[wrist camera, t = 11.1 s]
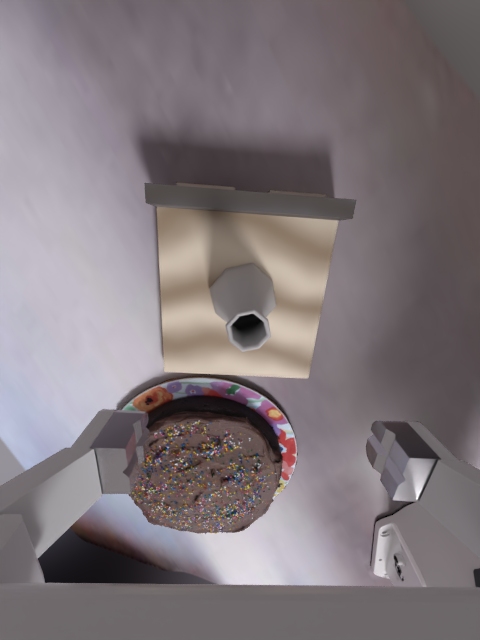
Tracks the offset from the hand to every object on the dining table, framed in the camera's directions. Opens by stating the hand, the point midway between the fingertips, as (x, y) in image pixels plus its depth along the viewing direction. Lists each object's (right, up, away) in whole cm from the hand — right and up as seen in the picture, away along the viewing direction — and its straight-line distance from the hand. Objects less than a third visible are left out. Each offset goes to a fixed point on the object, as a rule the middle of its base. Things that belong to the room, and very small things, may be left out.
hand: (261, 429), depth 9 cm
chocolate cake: (-6, -16, +28) cm, 33 cm away
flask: (0, +7, +18) cm, 19 cm away
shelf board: (0, +7, +19) cm, 20 cm away
